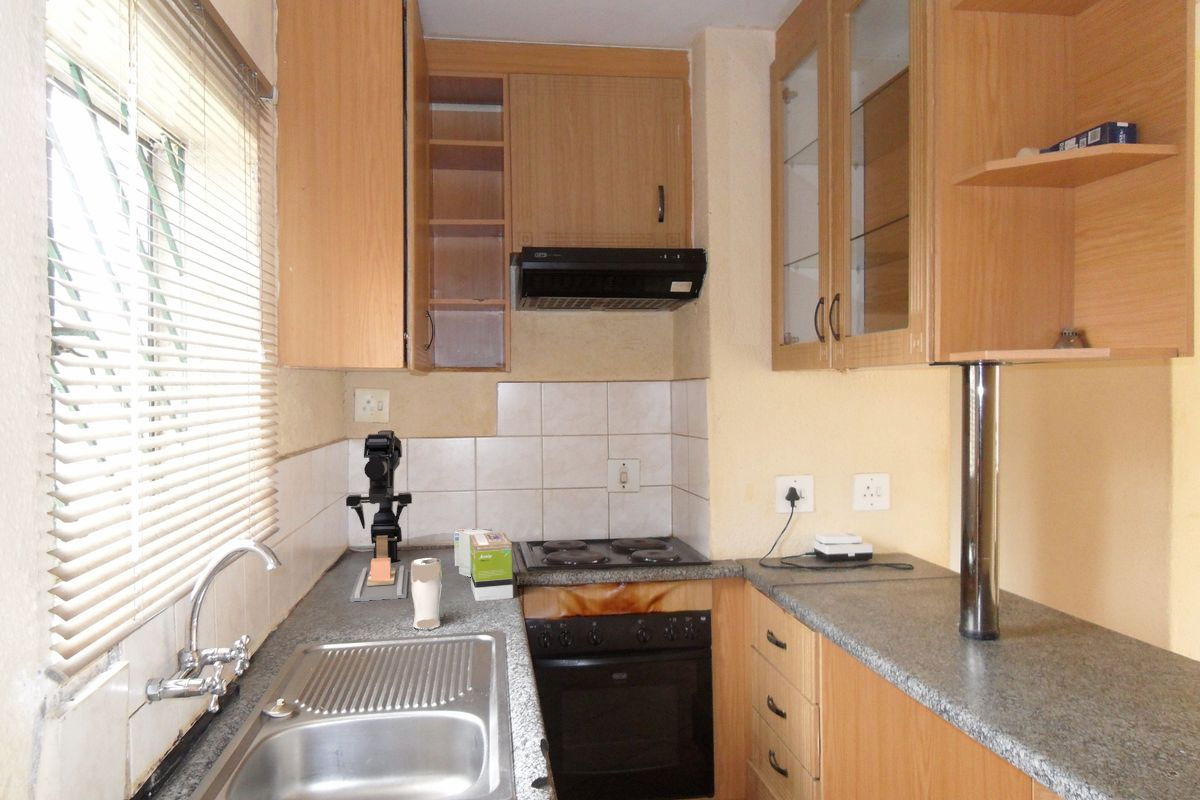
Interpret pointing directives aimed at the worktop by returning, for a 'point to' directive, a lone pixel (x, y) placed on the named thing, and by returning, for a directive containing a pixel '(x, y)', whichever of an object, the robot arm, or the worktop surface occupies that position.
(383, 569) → the terracotta cube
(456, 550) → the light bulb box
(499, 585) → the tea box
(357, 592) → the guide board
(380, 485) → the robot arm
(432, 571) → the beer glass
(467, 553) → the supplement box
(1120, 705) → the worktop surface
